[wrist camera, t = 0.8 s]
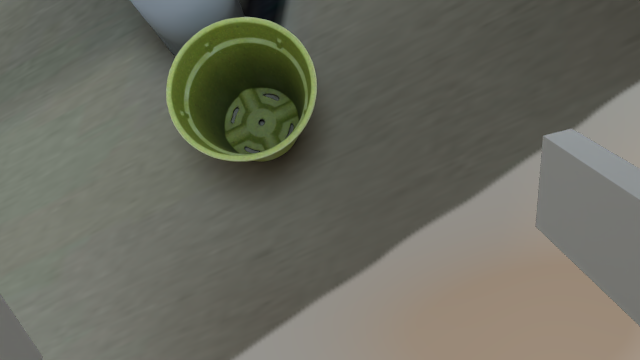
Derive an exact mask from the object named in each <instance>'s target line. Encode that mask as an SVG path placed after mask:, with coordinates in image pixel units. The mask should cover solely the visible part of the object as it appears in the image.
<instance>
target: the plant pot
mask: <svg viewBox="0 0 640 360" xmlns="http://www.w3.org/2000/svg"><path fill="white" fill-rule="evenodd" d="M264 94H274V95H276V96H278V97H279V98H280V99H279V101H276V100H274V99H272V98H269V97H266V96H263V95H264ZM316 96H317V79H316V73H315V69H314V65H313V62H312V60H311V58H310V56H309V54H308V52H307V50H306V49H305V47H304V46H303V44H302V43H301V42H300V41H299V40H298V38H297V37H296V36H294V35H293V34H292V33H291V32H289V31H288V30H287V29H285V28H283V27H282V26H280V25H278V24H276V23H273V22H271V21H268V20H264V19H259V18H253V17H239V18H230V19H225V20H221V21H218V22H215V23H213V24H211V25H209V26H207V27H205V28H203V29H202V30H200V31H199V32H198V33H196V34H195V35H194V36H193V37H192V38H191V39H190V40H188V41H187V42H186V43H185V45H184V46H183V47H182V48H181V49H180V51H179V52H178V54H177V55H176V57H175V59H174V61H173V64H172V66H171V69H170V71H169V75H168V79H167V87H166V100H167V106H168V110H169V113H170V116H171V119H172V121H173V123H174V125H175V127H176V129H177V130H178V132H179V133H180V134H181V136H182V137H183V138H184V139H185V140H186V141H187V142H188V143H189V144H190V145H192V146H193V147H194V148H195V149H197V150H199V151H200V152H202V153H204V154H206V155H208V156H210V157H213V158H216V159H220V160H225V161H233V162H247V161H269V160H273V159H275V158H278V157H280V156H281V155H283V154H284V153H286V152H287V151H288V150H289V149H290V148H291V147H292V146H293V145H294V143H295V141H296V140H297V137H298V136H299V135H300V134H301V132H302V131H303V130H304V128H305V127H306V125H307V123H308V122H309V120H310V118H311V115H312V113H313V110H314V107H315V102H316ZM235 108H239V111H238V113H237V115H236V118H235V122H234V123H233V124H232V122H231V118H232V114H233V111H234V110H235ZM261 119H263V120H264V121H265V123H264V125H263V126H261V125H259V120H261ZM291 123H292V124H293V125H294V129H293V132H292V133H291V134H290V135H289V136H288V137H287V134H288V132H289V128H290V124H291ZM286 137H287V138H286ZM245 147H249V148H251V149H253V150H259V151H261V152H258V153H249V152H247V151H246V150H245Z"/></svg>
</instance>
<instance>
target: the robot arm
mask: <svg viewBox="0 0 640 360" xmlns="http://www.w3.org/2000/svg"><path fill="white" fill-rule="evenodd" d="M536 227H537V228H538V229H539V230H540V231H541V232H542V233H543V234H544V235H545V236H546V237H547V238H548V239H549V240H550V241H551V242H552V243H553V244H554V245H556V246H557V247H558V248H559V249H560V250H561V251H562V252H563V253H564V254H565V255H566V256H567V257H568V258H569V259H570V260H571V261H572V262H573V263H574V264H575V265H576V266H578V268H580V269H581V270H582V271H583V272H584V273H585V274H586V275H587V276H588V277H589V278H590V279H591V280H592V281H593V282H594V283H595V284H596V285H597V286H598V287H599V288H600V289H601V290H602V291H604V292H605V293H606V294H607V295H608V296H609V297H610V298H611V299H612V300H613V301H614V302H615V303H616V304H617V305H618V306H619V307H620V308H621V309H622V310H623V311H624V312H625V313H627V314H628V315H629V316H630V317H631V318H632V319H633V320H634V321H635V322H636V323H637V324H638V325H639V326H640V169H639V168H638V167H636V166H634V165H633V164H631V163H629V162H628V161H626V160H624V159H623V158H621V157H619V156H618V155H616V154H614V153H612V152H611V151H609V150H607V149H606V148H604V147H602V146H600V145H599V144H597V143H596V142H594V141H592V140H590V139H589V138H587V137H585V136H584V135H582V134H580V133H579V132H577V131H575V130H574V129H568V130H564V131H560V132H556V133H552V134H548V135H544V136H543V143H542V155H541V167H540V179H539V191H538V203H537V215H536ZM42 358H43V356H42V355H41V353H40V352H39V350H38V349H37V347H36V346H35V344H34V343H33V341H32V340H31V338H30V337H29V336H28V334H27V333H26V331H25V330H24V328H23V327H22V325H21V324H20V322H19V321H18V319H17V318H16V316H15V315H14V313H13V312H12V310H11V309H10V307H9V306H8V304H7V303H6V302H5V300H4V299H3V297H2V296H1V294H0V360H42Z"/></svg>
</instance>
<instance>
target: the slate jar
mask: <svg viewBox="0 0 640 360" xmlns="http://www.w3.org/2000/svg"><path fill="white" fill-rule="evenodd" d="M130 1H131V2H132V3H133V5H134V6H135V7H136V8H137V10H138V11H139V12H140V14H141V15H142V16H143V17H144V19H145V20H146V21H147V22H148V24H149V25H150V26H151V27H152V29H153V30H154V31H155V32H156V34H157V35H158V36H159V37H160V39H161V40H162V41H163V42H164V44H165V45H166V46H167V47H168V49H169V50H170V51H171V52H172V53H173V54H174V55H175V56H176V55H177V54H178V52H179V51H180V49H181V48H182V47H183V46H184V45H185V43H186V42H187V41H188V40H190V39H191V38H192V37H193V36H194V35H195V34H196V33H198V32H199V31H200V30H202V29H203V28H205V27H207V26H209V25H211V24H213V23H215V22H218V21H221V20H225V19H230V18H239V17H245V15H244V11H243V9H242V6H241V3H240V1H239V0H130Z"/></svg>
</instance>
